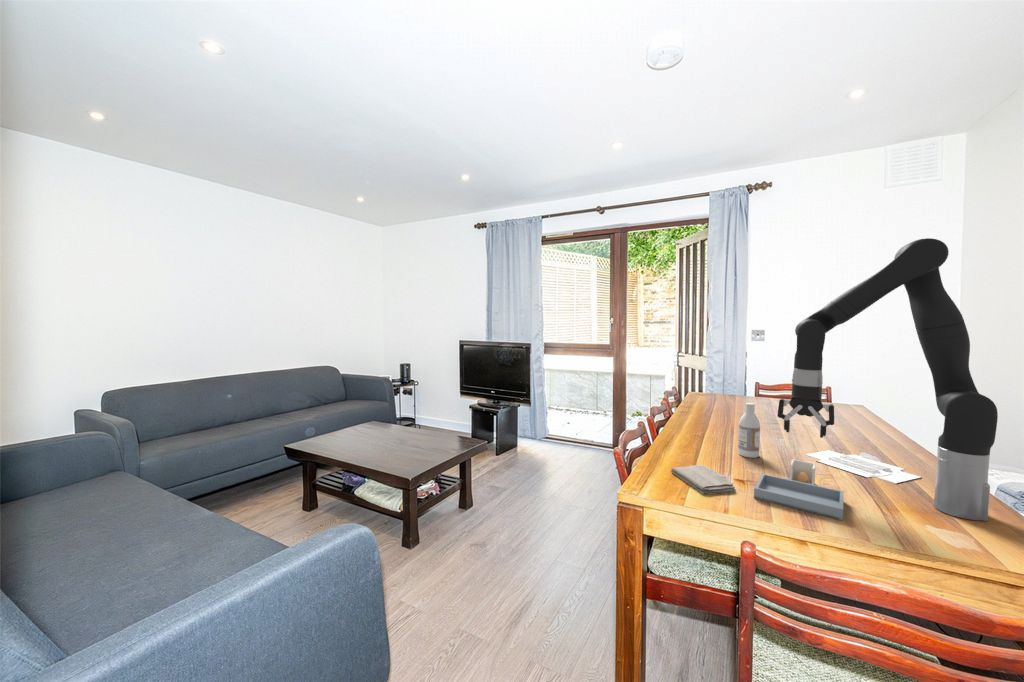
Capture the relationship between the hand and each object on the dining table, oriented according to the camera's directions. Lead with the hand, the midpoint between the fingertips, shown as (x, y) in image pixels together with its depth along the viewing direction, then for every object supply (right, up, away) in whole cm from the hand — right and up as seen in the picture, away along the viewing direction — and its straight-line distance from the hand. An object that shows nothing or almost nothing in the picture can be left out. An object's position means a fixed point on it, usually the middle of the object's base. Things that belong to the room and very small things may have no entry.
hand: (804, 434), depth 124 cm
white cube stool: (0, -16, +1) cm, 16 cm away
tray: (-9, -17, -10) cm, 21 cm away
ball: (0, -14, +1) cm, 14 cm away
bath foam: (-1, -15, +27) cm, 31 cm away
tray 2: (+32, -16, +16) cm, 39 cm away
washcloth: (-31, -17, +3) cm, 35 cm away
